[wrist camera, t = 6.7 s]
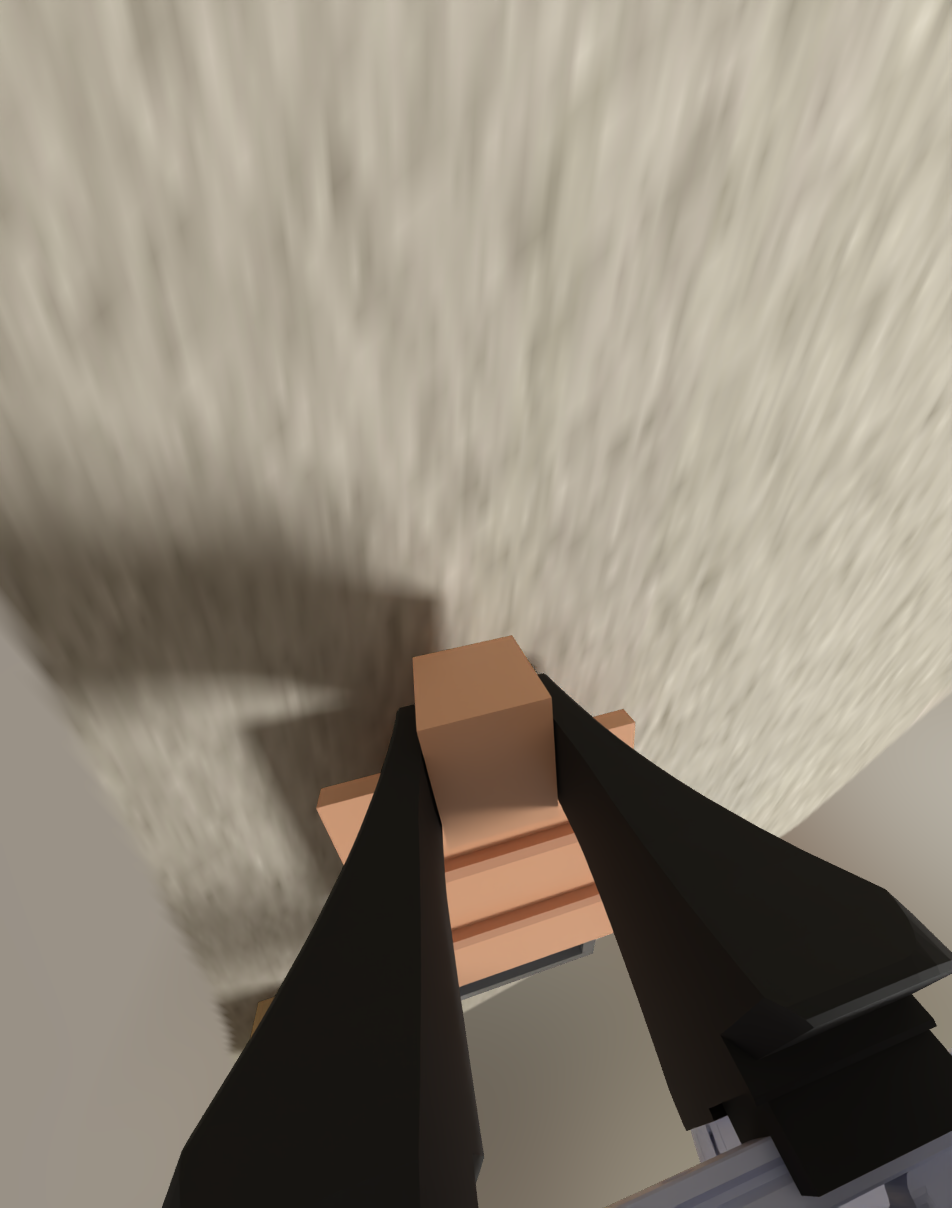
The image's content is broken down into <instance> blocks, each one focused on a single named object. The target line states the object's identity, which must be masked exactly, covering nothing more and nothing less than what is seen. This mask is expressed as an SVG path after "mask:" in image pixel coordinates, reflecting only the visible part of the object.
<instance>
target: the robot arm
mask: <svg viewBox="0 0 952 1208" xmlns="http://www.w3.org/2000/svg"><path fill="white" fill-rule="evenodd" d="M538 677H539V678H540V680H541V681H542V683H543V685H544V686H545V688H546V689H547V691H548V692H549V694H550V696H551V697H552V711H553V728H554V745H555V762H556V779H557V796H558V801H559V803H560V805H561V807H562V809H563V811H564V813H565V815H566V817H567V819H568V821H569V823H570V825H571V827H572V829H573V831H574V833H575V836H576V838H577V840H578V842H579V845H580V847H581V849H582V851H583V854H584V856H585V859H586V861H587V864H588V866H589V869H590V872H591V874H592V877H593V879H594V882H595V884H596V887H597V890H598V892H599V895H600V897H601V900H602V903H603V905H604V908H605V911H606V913H607V916H608V919H609V921H610V924H611V927H612V929H613V932H614V935H615V937H616V940H617V943H618V945H619V948H620V951H621V953H622V956H623V959H624V962H625V965H626V968H627V970H628V973H629V976H630V978H631V981H632V984H633V987H634V990H635V992H636V995H637V998H638V1001H639V1003H640V1007H641V1009H642V1012H643V1015H644V1018H645V1021H646V1024H647V1027H648V1029H649V1032H650V1035H651V1038H652V1041H653V1043H654V1046H655V1050H656V1052H657V1055H658V1058H659V1061H660V1064H661V1067H662V1070H663V1073H664V1076H665V1079H666V1082H667V1085H668V1088H669V1091H670V1093H671V1095H672V1098H673V1101H674V1103H675V1105H676V1108H677V1110H678V1113H679V1115H680V1117H681V1120H682V1123H683V1125H684V1127H685V1129H686V1131H688V1130H691V1133H692V1136H693V1140H694V1143H695V1147H696V1150H697V1153H698V1156H699V1159H700V1162H701V1163H700V1164H698V1165H696V1166H694V1167H691V1168H689V1169H687V1170H685V1171H683V1172H680V1173H678V1174H676V1175H674V1176H672V1177H670V1178H667V1179H665V1180H663V1181H661V1182H659V1183H657V1184H654V1185H652V1186H650V1187H648V1188H646V1189H644V1190H641V1191H639V1192H637V1193H635V1194H633V1195H630V1196H629V1197H626V1198H624V1199H622V1200H620V1201H617V1202H615V1203H613V1204H611V1205H609V1206H607V1207H604V1208H952V1048H950V1049H948V1050H946V1048H945V1047H944V1046H943V1045H942V1044H941V1043H940V1041H939V1040H938V1039H937V1038H936V1037H935V1036H934V1035H933V1033H932V1032H931V1031H930V1030H929V1029H932V1028H934V1027H936V1023H935V1021H934V1019H933V1018H932V1017H931V1015H930V1014H929V1013H928V1012H927V1011H926V1010H925V1009H924V1008H923V1007H922V1005H921V1004H920V1003H919V1002H918V1001H917V1000H916V999H915V997H914V996H913V995H912V994H913V993H915V992H917V991H919V990H920V989H923V988H925V987H926V986H928V985H930V984H932V983H934V982H936V981H938V980H940V979H942V978H944V977H946V976H948V975H950V974H952V952H951V951H950V950H949V949H948V948H947V947H946V946H944V945H943V944H942V942H941V941H940V940H938V939H937V938H936V937H935V936H934V935H933V934H932V933H931V932H930V931H929V930H928V929H927V928H926V927H925V926H924V925H923V924H922V923H921V922H920V921H919V920H918V919H917V918H916V917H915V916H914V915H913V914H912V913H911V912H910V911H909V910H907V908H905V907H904V906H903V905H902V904H901V903H900V902H899V901H898V900H897V899H896V898H894V897H893V896H892V895H891V894H890V893H889V892H888V891H887V890H885V889H883V888H882V887H879V886H877V885H875V884H873V883H871V882H869V881H867V880H865V879H863V878H860V877H858V876H856V875H854V874H852V873H850V872H848V871H846V870H843V869H841V868H839V867H837V866H835V865H833V864H831V863H829V862H826V861H824V860H822V859H820V858H818V857H816V856H814V855H811V854H809V853H808V852H805V851H803V850H801V849H799V848H797V847H796V846H794V845H792V844H790V843H788V842H786V841H784V840H782V839H780V838H778V837H776V836H775V835H773V834H771V833H769V832H767V831H765V830H763V829H761V828H759V827H757V826H756V825H754V824H752V823H750V822H749V821H747V820H745V819H743V818H742V817H740V816H738V815H736V814H735V813H733V812H731V811H729V810H727V809H726V808H724V807H722V806H720V805H719V804H717V803H715V802H713V801H712V800H710V799H708V798H706V797H705V796H703V795H701V794H700V793H698V792H697V791H695V790H693V789H692V788H690V787H689V786H687V785H685V784H684V783H682V782H681V781H679V780H677V779H676V778H674V777H673V776H671V775H670V774H668V773H667V772H665V771H664V770H662V769H661V768H659V767H658V766H656V765H655V764H654V763H652V762H651V761H649V760H648V759H646V758H645V757H644V756H642V755H641V754H639V753H638V752H637V751H635V750H634V749H633V748H631V747H630V746H629V745H627V744H626V743H625V742H623V741H622V740H621V739H619V738H618V737H617V736H616V735H614V734H613V733H612V732H610V731H609V730H608V729H607V728H605V727H604V726H603V725H602V724H601V723H599V722H598V721H597V720H596V719H595V718H593V717H592V716H591V715H590V714H589V713H587V712H586V711H585V710H584V709H583V708H582V707H580V706H579V705H578V704H577V703H576V702H575V701H574V700H573V699H572V698H570V697H569V696H568V695H567V694H566V693H565V692H564V691H563V690H562V689H561V688H560V687H559V686H558V685H556V684H555V683H554V682H553V681H552V680H551V679H550V678H549V677H548V676H547V675H546V674H544V673H543V674H539V675H538ZM483 1159H484V1153H483V1147H482V1140H481V1134H480V1126H479V1120H478V1114H477V1106H476V1100H475V1093H474V1086H473V1080H472V1073H471V1067H470V1059H469V1052H468V1045H467V1039H466V1031H465V1024H464V1018H463V1010H462V1003H461V997H460V989H459V982H458V975H457V968H456V960H455V953H454V946H453V938H452V931H451V923H450V916H449V908H448V901H447V892H446V881H445V866H444V848H443V830H442V823H441V819H440V815H439V812H438V808H437V804H436V801H435V797H434V793H433V790H432V786H431V782H430V779H429V775H428V771H427V768H426V764H425V760H424V757H423V753H422V749H421V745H420V742H419V738H418V734H417V729H416V711H415V704H414V705H410V706H406V707H402V708H400V709H399V710H398V711H397V715H396V720H395V725H394V729H393V733H392V737H391V741H390V745H389V748H388V752H387V755H386V758H385V761H384V764H383V767H382V771H381V774H380V777H379V780H378V783H377V786H376V788H375V791H374V794H373V796H372V799H371V802H370V804H369V807H368V809H367V812H366V815H365V817H364V820H363V822H362V825H361V827H360V830H359V832H358V834H357V837H356V839H355V842H354V844H353V846H352V848H351V851H350V853H349V855H348V857H347V859H346V862H345V864H344V866H343V868H342V870H341V873H340V875H339V877H338V879H337V881H336V883H335V885H334V887H333V889H332V891H331V893H330V895H329V897H328V899H327V901H326V903H325V905H324V907H323V909H322V911H321V913H320V915H319V917H318V919H317V921H316V923H315V925H314V927H313V929H312V930H311V932H310V934H309V936H308V938H307V940H306V942H305V944H304V946H303V947H302V949H301V951H300V953H299V954H298V956H297V958H296V960H295V962H294V963H293V965H292V967H291V969H290V970H289V972H288V974H287V976H286V978H285V979H284V981H283V983H282V985H281V986H280V988H279V990H278V992H277V994H276V995H275V997H274V999H273V1001H272V1002H271V1004H270V1006H269V1008H268V1010H267V1011H266V1013H265V1015H264V1016H263V1018H262V1020H261V1022H260V1023H259V1025H258V1027H257V1028H256V1030H255V1032H254V1033H253V1035H252V1037H251V1038H250V1040H249V1042H248V1043H247V1045H246V1047H245V1048H244V1050H243V1051H242V1053H241V1055H240V1056H239V1058H238V1060H237V1061H236V1063H235V1064H234V1066H233V1068H232V1069H231V1071H230V1073H229V1074H228V1076H227V1077H226V1079H225V1081H224V1082H223V1084H222V1086H221V1087H220V1089H219V1090H218V1092H217V1094H216V1095H215V1097H214V1099H213V1100H212V1102H211V1103H210V1105H209V1107H208V1108H207V1110H206V1112H205V1113H204V1115H203V1116H202V1118H201V1120H200V1121H199V1123H198V1125H197V1126H196V1128H195V1129H194V1131H193V1133H192V1134H191V1136H190V1138H189V1139H188V1141H187V1143H186V1145H185V1146H184V1148H183V1150H182V1152H181V1155H180V1158H179V1161H178V1164H177V1166H176V1169H175V1172H174V1175H173V1178H172V1180H171V1183H170V1186H169V1189H168V1192H167V1195H166V1197H165V1200H164V1203H163V1206H162V1208H478V1201H477V1192H476V1181H477V1178H478V1175H479V1172H480V1169H481V1165H482V1162H483Z"/></svg>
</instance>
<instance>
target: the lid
mask: <svg viewBox="0 0 952 1208" xmlns="http://www.w3.org/2000/svg"><path fill="white" fill-rule="evenodd" d="M413 675H414V693H415V711H416V729H417V734H418V738H419V742H420V745H421V749H422V753H423V757H424V760H425V764H426V768H427V771H428V775H429V779H430V782H431V786H432V790H433V793H434V797H435V801H436V804H437V808H438V812H439V815H440V819H441V823H442V830H443V848H444V866H445V881H446V892H447V901H448V908H449V916H450V923H451V931H452V938H453V946H454V953H455V960H456V968H457V975H458V982H459V987H461V986H463V985H466V984H469V983H472V982H475V981H478V980H480V979H483V978H486V977H489V976H492V975H495V974H498V973H500V972H503V971H506V970H509V969H512V968H515V967H517V966H520V965H523V964H526V963H529V962H532V961H535V960H537V959H540V958H543V957H546V956H549V955H552V954H554V953H557V952H560V951H563V950H566V949H569V948H572V947H574V946H577V945H580V944H583V943H586V942H589V941H591V940H594V939H597V938H600V937H603V936H606V935H608V934H611V933H614V932H613V929H612V927H611V924H610V921H609V919H608V916H607V913H606V911H605V908H604V905H603V903H602V900H601V897H600V895H599V892H598V890H597V887H596V884H595V882H594V879H593V877H592V874H591V872H590V869H589V866H588V864H587V861H586V859H585V856H584V854H583V851H582V849H581V847H580V845H579V842H578V840H577V838H576V836H575V833H574V831H573V829H572V827H571V825H570V823H569V821H568V819H567V817H566V815H565V813H564V811H563V809H562V807H561V805H560V803H559V801H558V796H557V779H556V762H555V745H554V728H553V711H552V697H551V696H550V694H549V692H548V691H547V689H546V688H545V686H544V685H543V683H542V681H541V680H540V678H539V677H538V675H537V674H536V672H535V670H534V669H533V667H532V666H531V664H530V663H529V661H528V659H527V658H526V656H525V655H524V653H523V652H522V650H521V649H520V647H519V645H518V644H517V642H516V641H515V639H514V638H513V636H512V635H511V636H507V637H502V638H498V639H493V640H489V641H484V642H480V643H475V644H471V645H466V646H462V647H457V648H453V649H448V650H444V651H439V652H435V653H430V654H426V655H421V656H417V657H413ZM593 718H595V719H596V720H597V721H598V722H599V723H601V724H602V725H603V726H604V727H605V728H607V729H608V730H609V731H610V732H612V733H613V734H614V735H616V736H617V737H618V738H619V739H621V740H622V741H623V742H625V743H626V744H627V745H629V746H630V747H631V748H633V749H634V735H635V721H634V720H633V719H632V718H631V717H630V716H629V715H628V714H627V713H626V711H625V710H624V709H622V710H618V711H614V712H610V713H606V714H603V715H599V716H595V717H593ZM380 774H381V773H378V774H374V775H371V776H367V777H363V778H359V779H355V780H352V781H348V782H344V783H340V784H336V785H333V786H329V787H325V788H321V791H320V795H319V799H318V803H317V807H316V809H317V811H318V813H319V815H320V817H321V819H322V821H323V823H324V825H325V828H326V830H327V832H328V834H329V836H330V838H331V840H332V842H333V844H334V846H335V848H336V850H337V852H338V854H339V856H340V858H341V860H342V863H343V865H344V864H345V862H346V859H347V857H348V855H349V853H350V851H351V848H352V846H353V844H354V842H355V839H356V837H357V834H358V832H359V830H360V827H361V825H362V822H363V820H364V817H365V815H366V812H367V809H368V807H369V804H370V802H371V799H372V796H373V794H374V791H375V788H376V786H377V783H378V780H379V777H380Z"/></svg>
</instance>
